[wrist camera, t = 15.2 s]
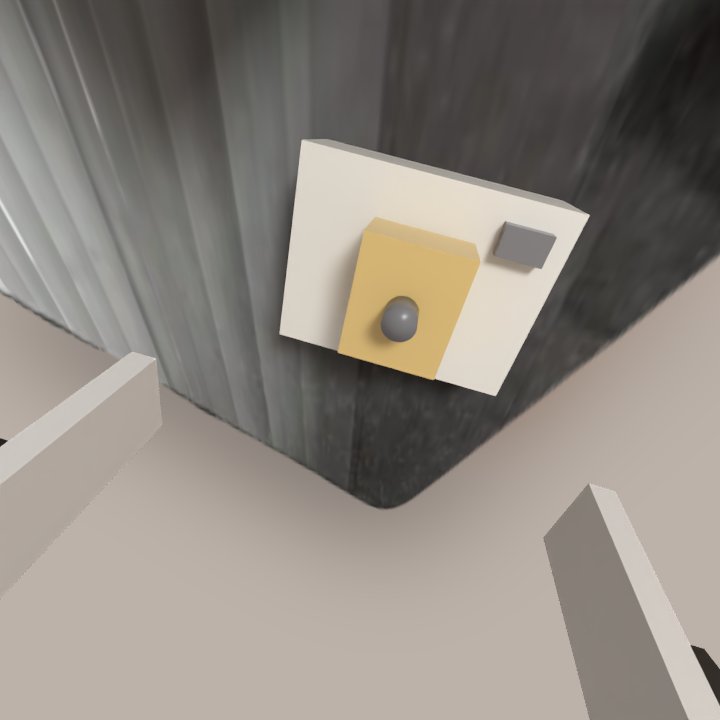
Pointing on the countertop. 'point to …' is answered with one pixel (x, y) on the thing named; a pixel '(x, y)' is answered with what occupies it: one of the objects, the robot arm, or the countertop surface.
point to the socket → (435, 214)
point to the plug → (406, 296)
